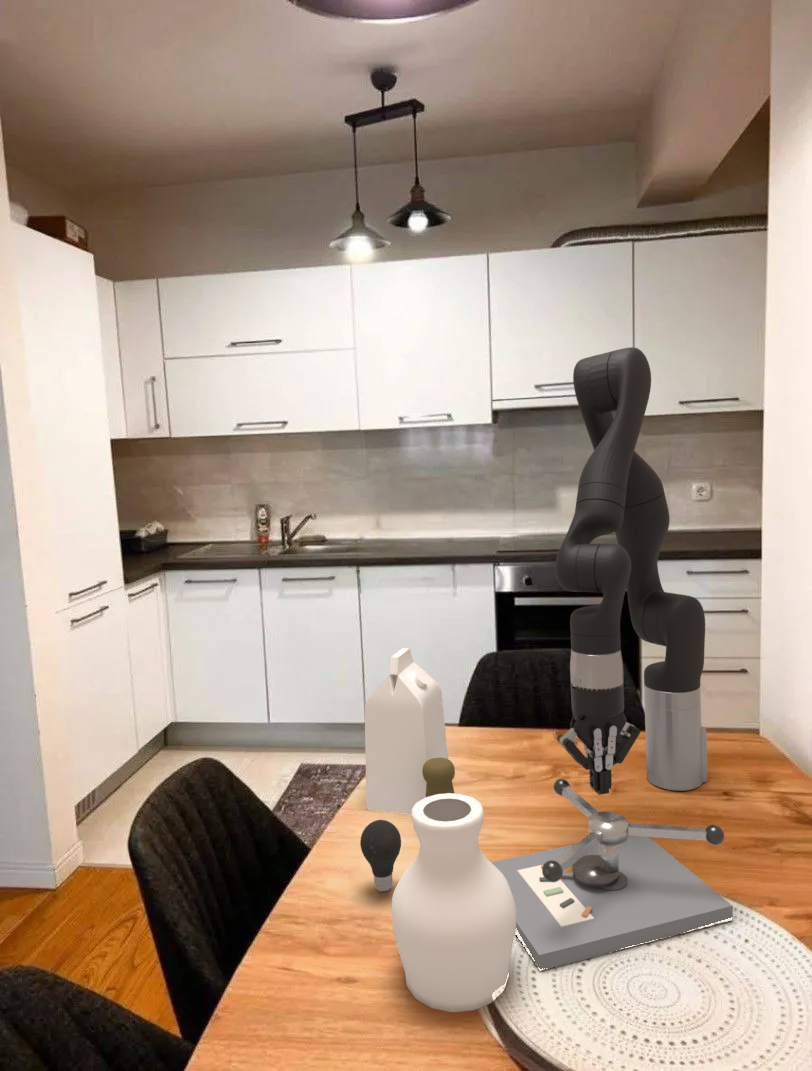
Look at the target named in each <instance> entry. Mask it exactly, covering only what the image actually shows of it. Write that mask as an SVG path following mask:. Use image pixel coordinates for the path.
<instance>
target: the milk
mask: <svg viewBox="0 0 812 1071" xmlns="http://www.w3.org/2000/svg"><path fill="white" fill-rule="evenodd" d="M374 690H375V691H373V692H372V694H371V695H370V696H369V697H368V698H367V700H366V702H365V705H364V734H365V735H364V737H365V738H364V742H365V745H364V746H365V791H366V792H365V794H366V798H365V799H366V801H365V802H366V810H367V809H369V810H368V811H373V810H379V811H378V812H383V811H393V812H398V813H397V814H401V813H405V814H404V815H410V814H412V808H413V807H414V805H415V804H416V803H417V802H419V801H420V800H422V799H424V798H426V783H427V782H426V781H425V779H424V777H423V773H422V769H423V765H424V764H425V762H426V761H428V760H430V759H432V758H446V759H448V760H449V755H448V754H449V753H448V743H447V734H446V732H447V731H446V724H445V714H444V706H443V695H442V694H443V693H442V690H441V687H440V685H439V684H438V682H437V681H436V680H435V679H434V678H433V677H432V676H430V675H429V674H428V673H427V672H426V671H425V670H424V669H423V668H421V667H420V666H419V665H418V664H417V663H415V662H414V660H413V656H412V652H411V648H409V647H407V648H406V647H403V648H401V649H399V650H398V651H397V652H395V654H393V655H391V656H390V664H389V676H388V677H386V679H385V680H384V681H383V682H381V684H380V685H379V686H377V688H376V689H374ZM381 810H382V811H381ZM406 813H407V814H406Z"/></svg>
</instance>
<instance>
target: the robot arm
mask: <svg viewBox="0 0 812 1071" xmlns="http://www.w3.org/2000/svg"><path fill="white" fill-rule="evenodd" d="M572 380H573V381H572V383H573V390H574V393H575V398H576V401H577V405H578V407H579V411H580V415H581V416H582V420H583V422H584V425H585V428H586V430H587V434H588V437H589V439H590V442H591V445H592V448H593V451H592V453H591V455H590V456H589V458H588V459H587V460H586V463H585V464H584V467H583V468H582V471H581V473H580V476H579V481H578V487H577V492H576V493H577V495H576V501H575V509H574V514H573V517H572V520H571V523H570V525H569V527H568V529H567V530H568V531H567V532H566V534H565V537H564V539H563V541H562V544H561V545H560V548H559V549H558V552H557V554H556V555H557V556H556V559H555V563H554V575H555V579H556V581H557V583H558V584H559V586H560V587H561V588H562V589H563V590H565V591H568V592H579V593H580V592H581V593H597V594H598V593H601V594H602V600H601V602H600V603H599V604H595V605H588V606H583V607H579V608H577V609H575V610H573V611H572V612H571V614H570V618H569V624H570V625H569V627H570V630H569V631H570V648H571V650H570V662H569V670H570V674H569V675H570V697H571V698H570V699H571V701H570V702H571V711H572V718H571V721H570V725H569V726H570V729H568V730H567V732H566V733H564V734H562V733H561V734H558V736H557V742H558V743H559V744H560V745H561V746H562V748H563V749H564V750H565V751H566V752H567V754H569V755H570V756H571V758H572V759H574V761H575V762H576V763H577V764H578V765H579V766H581V767H582V768H583V769H585V770H588V771H589V787H590V788H591V789H592V790H593V791H594V792H595V793H596V794H597V795H599V796H602V795H606V794H609V793H610V790H611V789H612V785H613V784H612V768H613V767H614V765H617V764H618V765H620V764H622V763H623V762H624V760H625V759H626V757H627V756H628V754H629V752H630V751H631V749H632V748H633V746H634V744H635V743H636V741H637V739H638V737H639V736H640V734H641V730H640V728H639V727H637V726H635V725H634V724H631V723H630V722H628V721H627V717H626V715H625V713H624V710H625V690H624V689H625V687H624V686H625V685H624V684H625V682H624V681H625V680H624V664H623V663H624V662H623V656H622V651H621V649H622V647H621V628H620V627H621V618H622V617H621V615H622V609H623V604H624V598H625V594H626V593H627V602H628V609H629V615H630V620H631V623H632V627H633V630H634V631H635V634H637V636H638V637H639V638H640V639H641V640H642V641H644V642H647V643H649V644H654V645H657V646H662V647H665V656H664V661H658V662H654V663H651V664H649V665H647V666H646V667H645V668H644V670H643V688H644V690H643V691H644V692H643V693H644V694H643V697H644V720H645V721H644V723H645V724H644V725H645V755H646V756H645V757H646V779H647V780H648V782H649V783H650V784H652V785H653V786H655V787H657V788H661V789H665V790H669V791H678V792H680V791H682V792H683V791H691V790H695V789H697V788H699V787H700V786H701V785H702V784H703V783H707V782H708V738H707V736H708V734H707V728H706V727H704V726H702V702H701V678H702V674H703V670H704V666H705V646H706V645H705V643H706V641H705V640H706V617H705V611H704V608H703V606H702V603H701V601H700V600H698V598H696V597H694V596H692V595H686V594H680V593H674V592H667V591H665V590H664V589H663V586H662V583H661V578H660V574H659V566H658V562H659V556H660V552H661V550H662V546H663V545H664V543H665V542H664V541H665V540H666V537H667V534H668V532H669V526H670V518H671V517H670V512H669V507H668V502H667V498H666V494H665V489H664V485H663V482H662V480H661V478H660V477H659V475H658V473H657V472H656V471H655V470H654V469H653V468H652V467H651V466H650V464H649V463H648V462H647V461H645V460H644V459H643V457H641V456H640V454H639V453H637V452H636V451H635V449H636V446H637V442H638V439H639V436H640V432H641V429H642V425H643V421H644V418H645V416H646V415H645V414H646V411H647V407H648V403H649V399H650V393H651V387H652V372H651V367H650V364H649V361H648V359H647V356H646V355H645V353H644V352H643V351H642V350H641V349H639V348H638V347H633V346H632V347H625V348H620V349H616V350H611V351H608V352H604V353H600V354H596V355H592V356H588V357H584V358H582V359H579V360H578V361H577V362H576V363H575V365H574V368H573V377H572ZM614 411H615V414H614V416H613V412H614ZM613 533H615V537H616V541H617V544H616V543H593V541H594V540H595V539H597V538H599V537H603V536H607V535H610V534H613ZM577 738H578V739H579V740H580V742H581V743H582V745H583V749H584V751H585V755H584V754H583V752H582V751H581V750H580V749H579V748H578V744H579V743H578V739H577Z"/></svg>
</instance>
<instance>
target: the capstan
mask: <svg viewBox="0 0 812 1071" xmlns="http://www.w3.org/2000/svg"><path fill="white" fill-rule="evenodd" d="M553 790H554V792H555V793H556V794H557V795H559V796H561V797H564V798H565V799H566V800H567V801H569V802H570V804H572V805H573V806H574V807H575V808H577V810H579V811H580V812H581V813H582V814H583V815H584V816H585V817H586V818H587V819H588V820H587V823H588V834H587V835H586V836H584V838H582V839H581V840H580V841H578V842H577V843H575V844H576V845H574V846H573V847H572V848H570V849H569V850H568V851H566V852H565V853H564V854H562V855H561V856H560V857H558V858H557V859H556V860H555V861H554V860H550V861H547V862H546V863H544V865H543V867H542V873H543V876H544V878H545V879H546V880H547V881H549V882H557V881H559V880H560V879H561V877H562V874H563V872H568V873H573V876H574V878H575V879H576V880H577V881H578V882H580V883H582V884H584V885H587V886H591V887H607V886H611V885H613V884H615V883H616V882H617V881H618V880H619V854H618V844H622V843H624V842H625V841H627V839H628V835H630V836H645V837H650V838H664V839H665V838H666V839H675V840H676V839H677V840H678V839H679V840H691V841H705V842H707V843H709V844H711V846H712V845H713V846H718V845H721V844H722V843H723V842H724V841H725V836H726V835H725V831H724V830H723V829H722V827H720V826H719V825H717V824H710V825H707V826H706V827H694V826H680V825H662V824H660V825H659V824H647V823H646V824H645V823H633V822H632V823H631V822H628V818H626V817H625V816H624V815H623V814H620V813H618V812H613V811H598V810H597V809H596V808H595V807H593V806H592V805H591V804H590V803H589V802H588V801H586V800H585V798H583V797H582V796H581V795H580V794H579V793H578V792H576V791H575V790H574V789H573V788H572V787H571V784H570V783H569V781H568V780H567V779H565V778H559V779H556V780H555V781H554V783H553ZM598 844H599V849H600V856H599V855H586V856H584V855H585V854H586V853H588V852H589V851H590V850H591V849H593V848H594V847H595V846H597V845H598Z"/></svg>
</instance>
